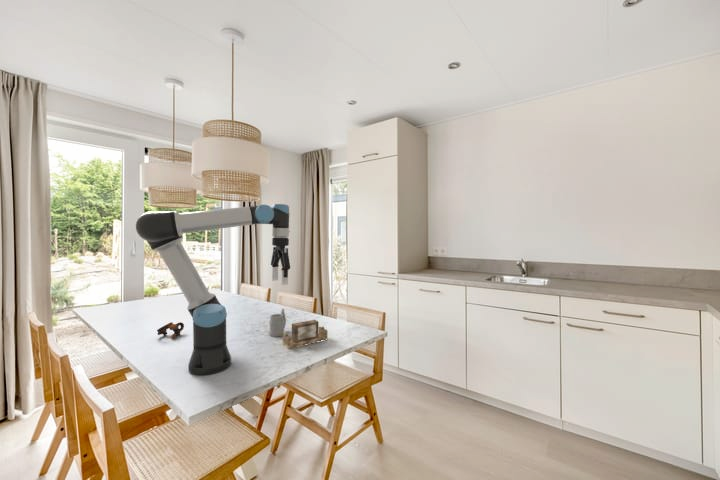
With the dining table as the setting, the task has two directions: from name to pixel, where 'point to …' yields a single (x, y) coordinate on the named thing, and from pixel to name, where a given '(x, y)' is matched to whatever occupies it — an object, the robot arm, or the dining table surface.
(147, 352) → the dining table surface
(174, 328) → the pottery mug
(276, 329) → the mug
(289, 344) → the ledge
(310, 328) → the frame
